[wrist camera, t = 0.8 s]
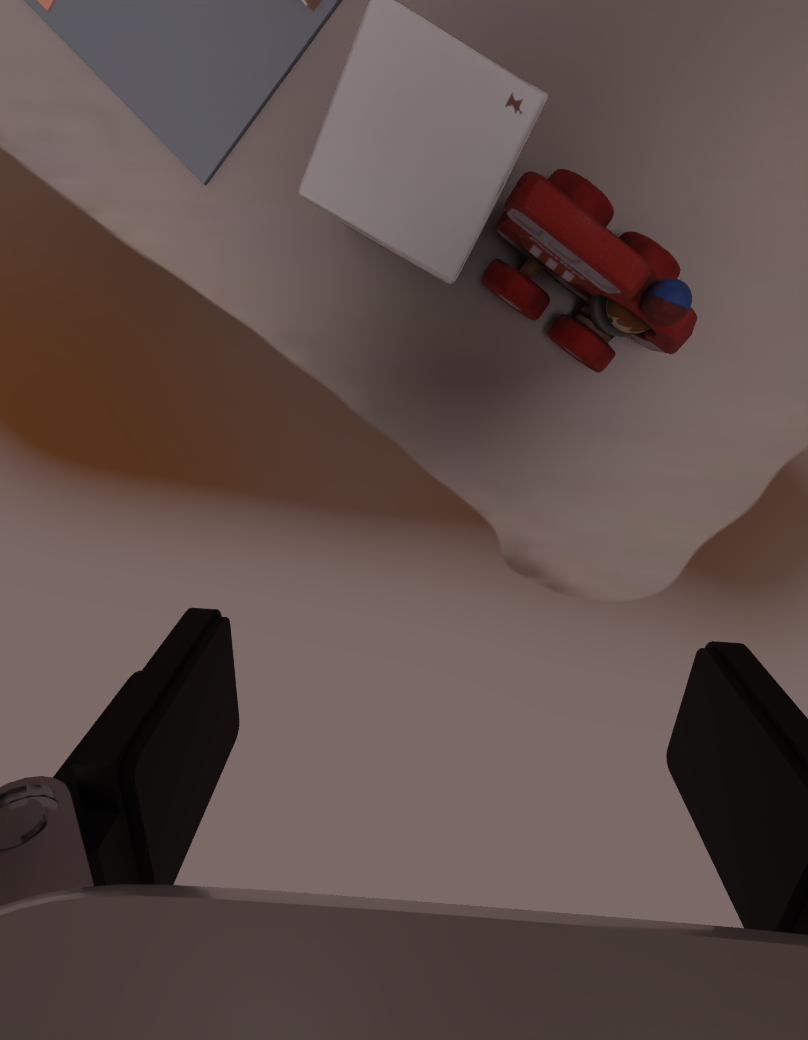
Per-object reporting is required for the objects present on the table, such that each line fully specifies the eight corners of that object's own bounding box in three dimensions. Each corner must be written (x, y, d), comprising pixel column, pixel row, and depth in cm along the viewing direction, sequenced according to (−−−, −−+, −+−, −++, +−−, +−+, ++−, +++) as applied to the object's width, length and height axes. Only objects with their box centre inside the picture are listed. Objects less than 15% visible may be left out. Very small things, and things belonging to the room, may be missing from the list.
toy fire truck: (609, 386, 37) (672, 422, 27) (457, 266, 34) (466, 259, 25) (689, 291, 34) (790, 294, 25) (531, 156, 32) (574, 100, 22)
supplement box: (397, 90, 31) (375, -27, 19) (512, 162, 32) (558, 92, 20) (340, 224, 34) (290, 192, 22) (448, 287, 35) (456, 288, 23)
